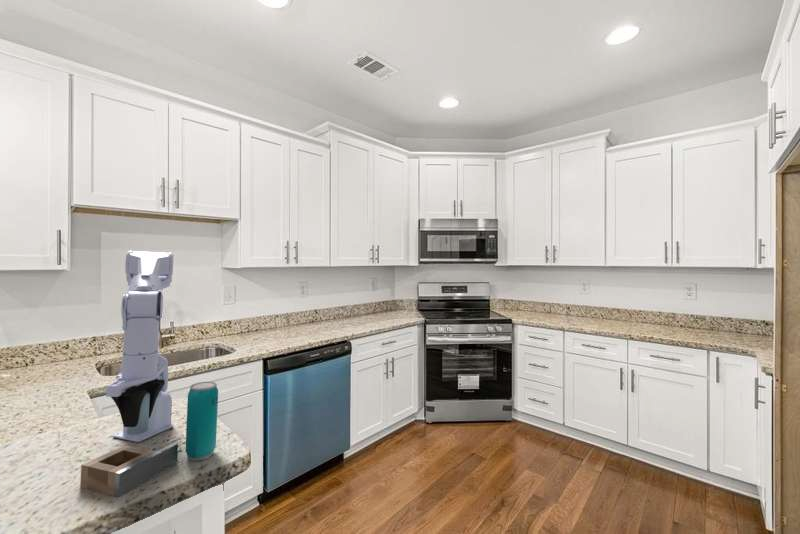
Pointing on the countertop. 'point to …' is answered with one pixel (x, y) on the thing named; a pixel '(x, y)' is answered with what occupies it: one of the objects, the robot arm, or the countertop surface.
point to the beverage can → (201, 420)
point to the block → (109, 468)
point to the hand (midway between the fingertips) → (137, 422)
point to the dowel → (141, 418)
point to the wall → (145, 469)
